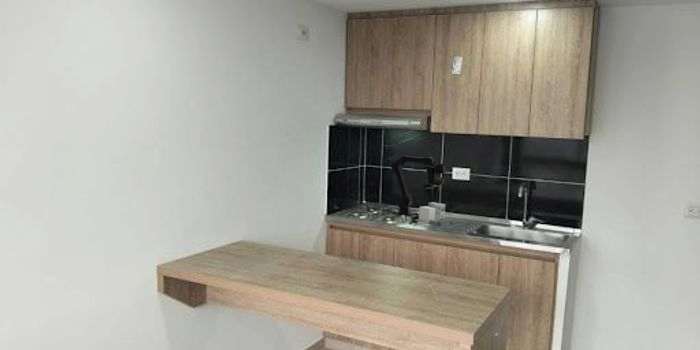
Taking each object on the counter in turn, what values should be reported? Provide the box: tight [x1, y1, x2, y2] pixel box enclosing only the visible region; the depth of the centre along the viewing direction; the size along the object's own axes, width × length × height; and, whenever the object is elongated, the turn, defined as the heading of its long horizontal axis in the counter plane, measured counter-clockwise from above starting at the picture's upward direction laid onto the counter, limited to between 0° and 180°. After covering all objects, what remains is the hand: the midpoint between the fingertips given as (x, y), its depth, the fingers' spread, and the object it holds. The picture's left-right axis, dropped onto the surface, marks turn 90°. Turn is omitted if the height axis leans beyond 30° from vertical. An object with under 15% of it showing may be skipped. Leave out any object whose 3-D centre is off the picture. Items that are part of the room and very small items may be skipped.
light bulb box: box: [427, 201, 446, 220], centre depth 387 cm, size 11×7×11 cm, turn 56°
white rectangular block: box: [418, 205, 436, 222], centre depth 372 cm, size 9×6×9 cm, turn 40°
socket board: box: [415, 218, 453, 227], centre depth 367 cm, size 22×14×4 cm, turn 40°
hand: (433, 197), depth 376 cm, fingers open, 9 cm apart
